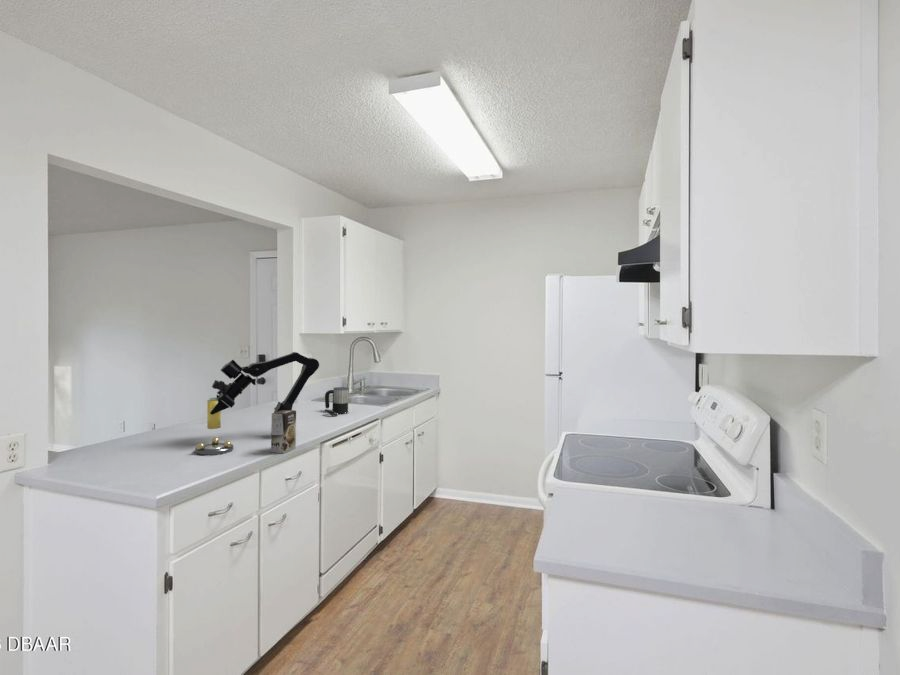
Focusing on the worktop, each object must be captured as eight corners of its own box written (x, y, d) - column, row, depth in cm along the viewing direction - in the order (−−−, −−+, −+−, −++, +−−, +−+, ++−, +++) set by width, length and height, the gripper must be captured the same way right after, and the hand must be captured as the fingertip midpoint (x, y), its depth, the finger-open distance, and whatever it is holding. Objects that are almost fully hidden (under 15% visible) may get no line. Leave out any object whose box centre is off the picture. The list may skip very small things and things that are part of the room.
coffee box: (284, 453, 192) (285, 414, 192) (270, 452, 194) (270, 413, 193) (296, 448, 201) (296, 410, 201) (282, 446, 203) (283, 409, 202)
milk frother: (347, 411, 287) (348, 386, 286) (350, 416, 272) (351, 390, 271) (323, 412, 283) (323, 387, 282) (325, 417, 268) (325, 390, 267)
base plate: (222, 444, 204) (222, 435, 204) (240, 450, 196) (240, 440, 196) (188, 451, 193) (188, 441, 193) (205, 457, 185) (205, 447, 185)
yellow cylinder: (223, 426, 208) (223, 397, 208) (215, 429, 203) (215, 399, 203) (212, 426, 209) (212, 397, 209) (204, 428, 204) (204, 398, 204)
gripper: (222, 371, 215) (194, 397, 210) (226, 375, 199) (196, 404, 194) (241, 387, 220) (214, 413, 215) (246, 393, 204) (217, 421, 198)
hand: (210, 412), depth 205 cm, fingers closed on yellow cylinder, 5 cm apart
